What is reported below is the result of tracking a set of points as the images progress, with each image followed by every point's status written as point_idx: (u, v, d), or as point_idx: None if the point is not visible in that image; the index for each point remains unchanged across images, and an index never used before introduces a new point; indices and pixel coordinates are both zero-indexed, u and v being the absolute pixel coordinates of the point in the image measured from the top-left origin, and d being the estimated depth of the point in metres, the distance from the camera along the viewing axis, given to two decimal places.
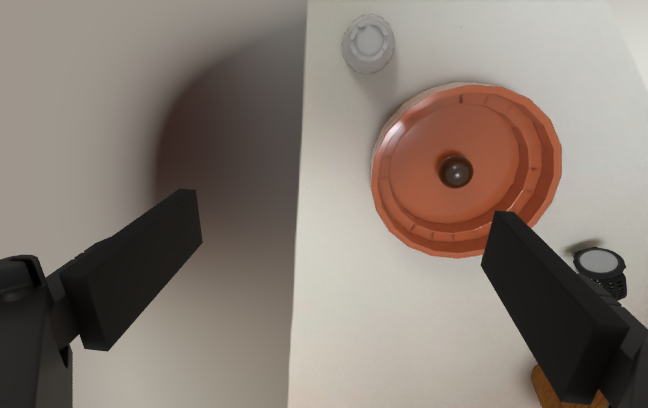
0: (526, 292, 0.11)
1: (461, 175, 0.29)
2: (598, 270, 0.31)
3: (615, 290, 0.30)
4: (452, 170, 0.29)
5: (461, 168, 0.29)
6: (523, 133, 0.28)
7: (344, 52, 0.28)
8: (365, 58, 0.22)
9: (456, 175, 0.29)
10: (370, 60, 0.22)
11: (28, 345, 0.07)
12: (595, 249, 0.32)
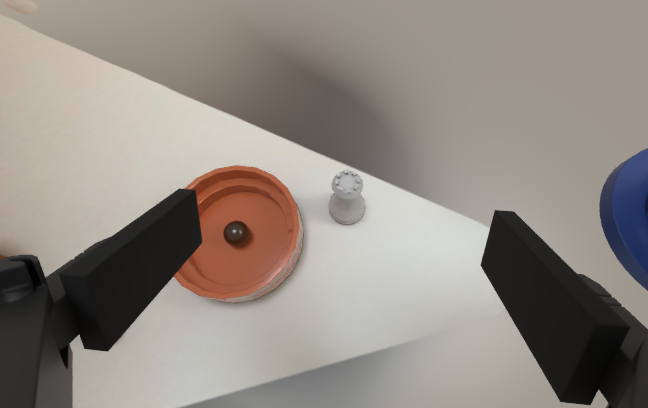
0: (527, 292, 0.11)
1: (233, 231, 0.37)
2: None
3: None
4: (239, 227, 0.38)
5: (238, 233, 0.37)
6: (243, 284, 0.36)
7: None
8: (338, 175, 0.34)
9: (235, 227, 0.38)
10: (336, 180, 0.35)
11: (28, 345, 0.07)
12: None
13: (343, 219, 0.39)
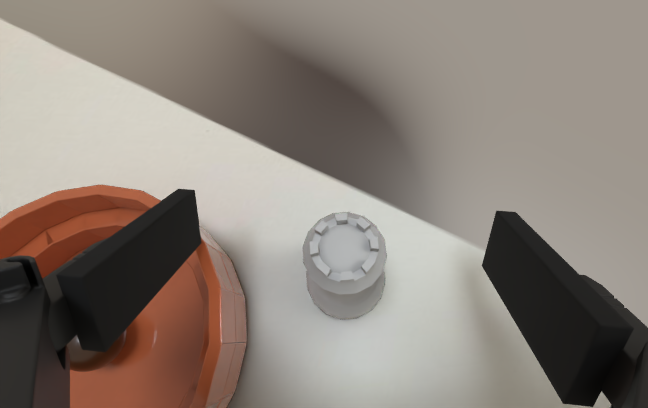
0: (528, 293, 0.11)
1: (71, 343, 0.16)
2: None
3: None
4: None
5: None
6: None
7: None
8: (320, 229, 0.12)
9: None
10: (314, 239, 0.13)
11: (25, 346, 0.07)
12: None
13: (336, 313, 0.17)
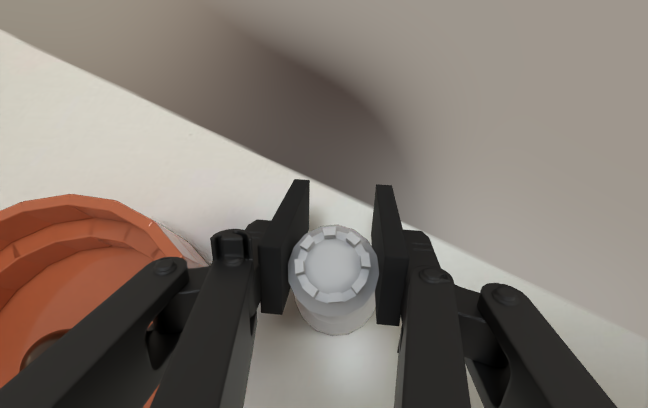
0: (377, 245, 0.13)
1: None
2: None
3: None
4: None
5: None
6: None
7: None
8: (305, 245, 0.11)
9: None
10: (299, 256, 0.12)
11: (232, 311, 0.08)
12: None
13: (325, 330, 0.16)
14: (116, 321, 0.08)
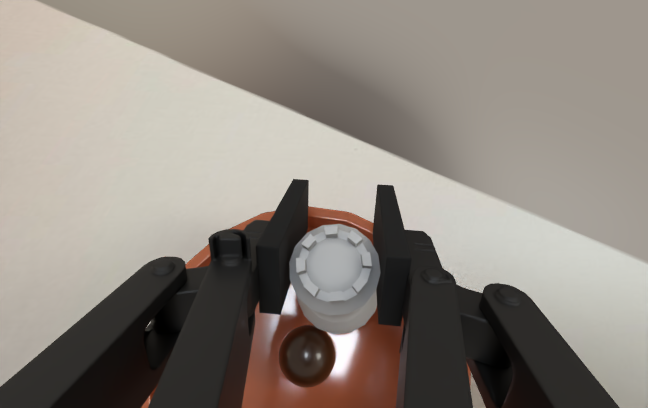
0: (378, 246, 0.13)
1: (307, 358, 0.16)
2: None
3: None
4: (320, 346, 0.17)
5: (318, 362, 0.16)
6: None
7: None
8: (307, 244, 0.11)
9: (310, 349, 0.16)
10: (301, 255, 0.12)
11: (230, 311, 0.08)
12: None
13: (327, 328, 0.16)
14: (114, 321, 0.08)
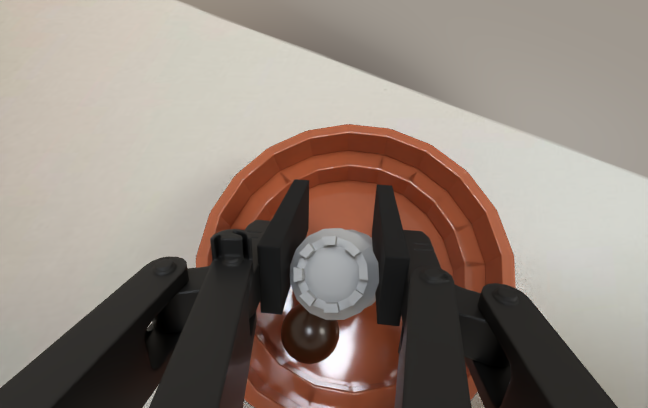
0: (377, 246, 0.13)
1: None
2: None
3: None
4: None
5: None
6: (383, 391, 0.16)
7: (353, 232, 0.17)
8: (305, 254, 0.11)
9: None
10: (300, 262, 0.12)
11: (231, 311, 0.08)
12: None
13: None
14: (116, 321, 0.08)
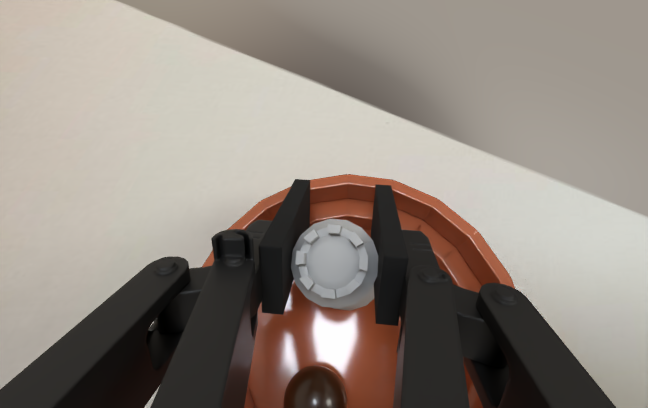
0: (376, 245, 0.13)
1: None
2: None
3: None
4: None
5: None
6: None
7: None
8: (309, 239, 0.12)
9: None
10: (303, 247, 0.12)
11: (233, 311, 0.08)
12: None
13: None
14: (117, 321, 0.08)
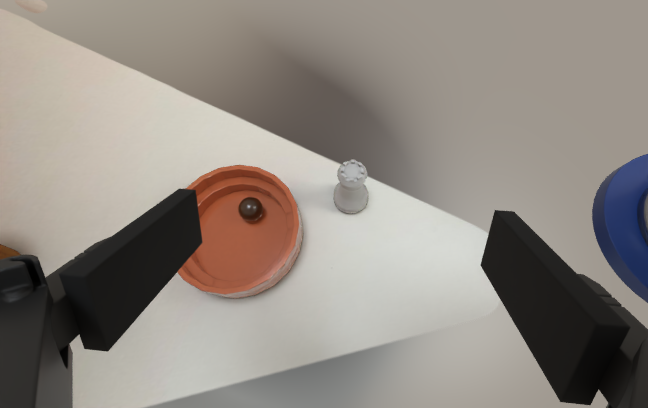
0: (526, 292, 0.11)
1: None
2: None
3: None
4: None
5: None
6: (243, 280, 0.37)
7: None
8: (345, 163, 0.36)
9: None
10: (342, 167, 0.36)
11: (28, 345, 0.07)
12: None
13: (344, 207, 0.41)
14: None
